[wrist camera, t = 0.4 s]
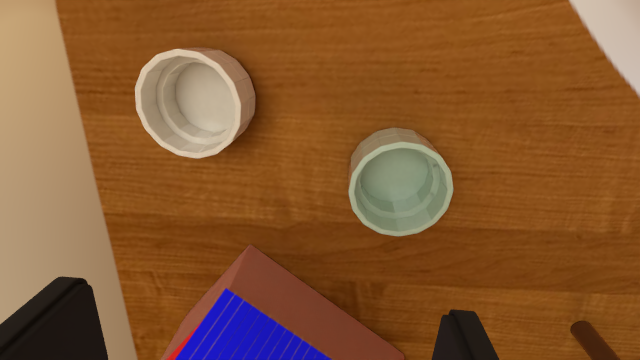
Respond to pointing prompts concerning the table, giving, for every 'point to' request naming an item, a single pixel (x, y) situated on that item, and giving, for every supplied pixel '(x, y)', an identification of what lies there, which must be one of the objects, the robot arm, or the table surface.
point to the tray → (592, 342)
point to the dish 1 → (194, 100)
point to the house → (271, 320)
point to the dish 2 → (398, 182)
